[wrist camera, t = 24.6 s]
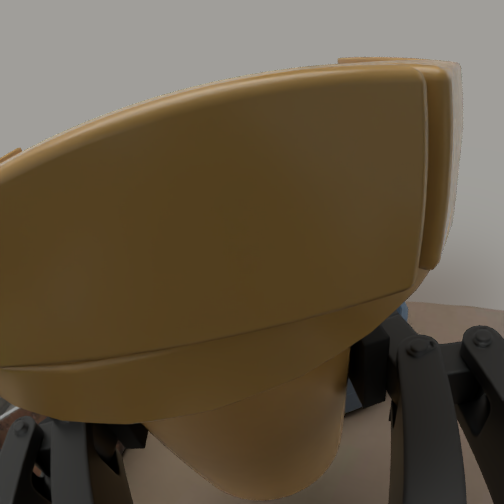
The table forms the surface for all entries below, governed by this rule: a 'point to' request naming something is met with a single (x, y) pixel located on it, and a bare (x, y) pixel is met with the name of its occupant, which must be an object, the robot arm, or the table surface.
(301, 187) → the pedestal tray stand
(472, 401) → the robot arm
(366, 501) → the table surface
